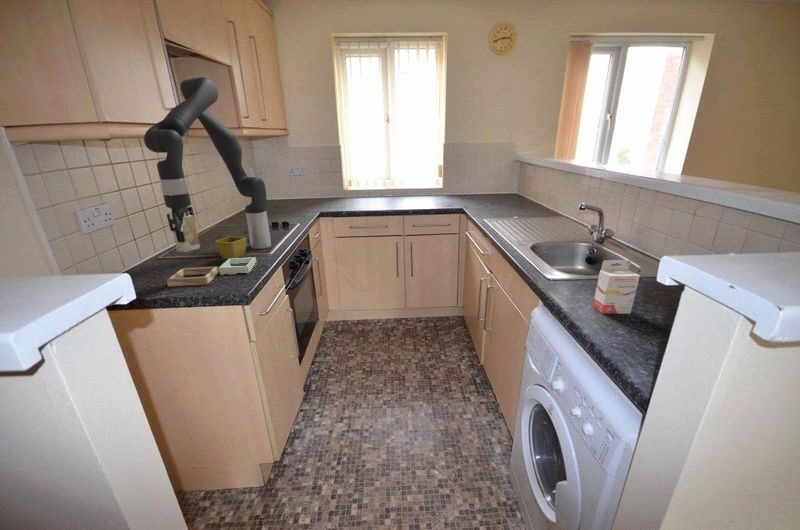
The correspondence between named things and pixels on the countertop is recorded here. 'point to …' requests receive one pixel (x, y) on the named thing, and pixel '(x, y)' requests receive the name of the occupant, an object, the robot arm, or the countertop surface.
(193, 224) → the skincare box
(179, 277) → the frame
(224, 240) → the flower pot
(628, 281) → the ink cartridge box
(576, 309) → the countertop surface
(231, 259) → the parts tray
